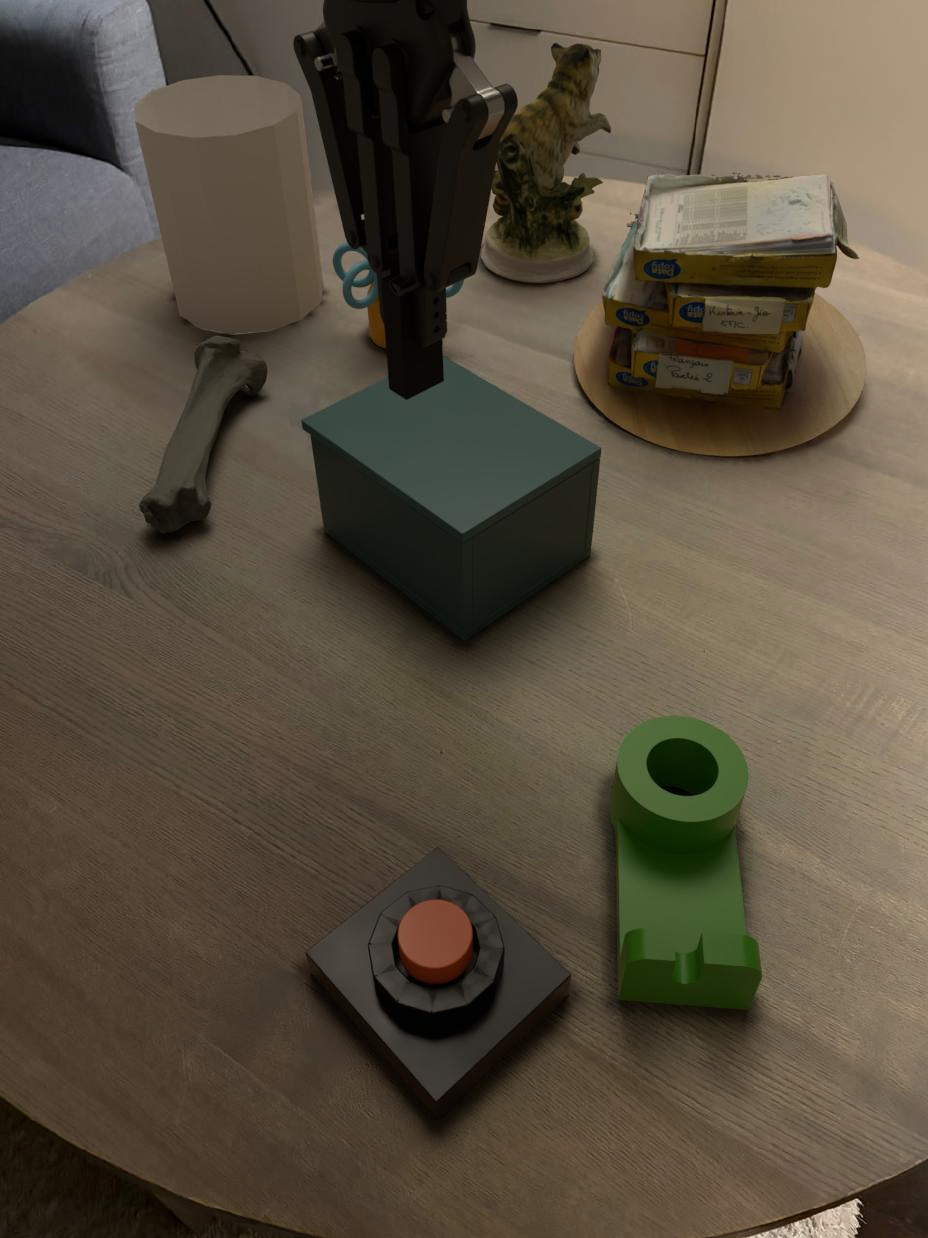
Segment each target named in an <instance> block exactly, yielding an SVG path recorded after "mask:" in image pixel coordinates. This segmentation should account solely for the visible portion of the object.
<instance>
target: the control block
mask: <svg viewBox="0 0 928 1238" xmlns="http://www.w3.org/2000/svg"><path fill="white" fill-rule="evenodd" d="M434 899H438V900H445V901H449V902H451V903H453V904H455V905H457V906H458V907H460V908H461V909H462V910H463V911H464V912H465V913H466V915H467V916H468V918H469V920H470V922H471V925H472V930H473V954H472V959H471V961H470V964H469V966H468V967H467V969H466V970H465V971H464V972H463V973H462V974H461V975H460V976H459V977H458V978H456V979H454V980H453V981H450V982H448V983H444V984H436V985H433V984H427V983H423V982H420V981H418V980H416V979H415V978H413V977H412V976H411V975H410V974H409V973H408V972H407V971H406V970H405V968H404V966H403V964H402V962H401V959H400V953H399V944H398V928H399V924H400V922H401V920H402V918H403V916H404V915H405V914H406V913H407V911H409V910H410V909H411V908H412V907H413V906H415V905H417V904H418V903H421V902H423V901H427V900H434ZM305 957H306V960H307V964H308V965H307V966H308V968H309V972H310V973H311V974H312V976H313V977H314V978H315V979H316V981H318V982H319V984H320V985H321V986H322V987H323V989H324V990H325V991H326V992H327V993H328V995H330V997H331V998H332V999H333V1000H334V1002H335V1003H336V1004H337V1005H338V1006H339V1007H340V1008H341V1010H343V1012H344V1013H345V1014H346V1015H347V1017H348V1018H349V1019H350V1020H351V1021H352V1023H354V1025H355V1026H356V1027H357V1028H358V1029H359V1030H360V1032H362V1034H363V1035H364V1036H365V1037H366V1038H367V1040H368V1041H369V1042H370V1043H371V1044H372V1046H373V1047H374V1048H375V1049H376V1050H377V1051H378V1052H379V1054H380V1055H381V1056H382V1057H383V1058H384V1059H385V1061H387V1063H388V1064H389V1065H390V1066H391V1068H393V1070H394V1071H395V1072H396V1073H397V1074H398V1076H399V1077H400V1078H401V1079H402V1080H403V1081H404V1083H405V1084H406V1085H407V1086H408V1087H409V1088H410V1090H411V1091H412V1092H413V1093H414V1094H415V1095H416V1096H417V1098H418V1099H419V1100H420V1101H421V1103H423V1105H424V1106H425V1107H426V1108H427V1110H429V1112H430V1113H431V1114H432V1115H433V1116H434V1118H436V1119H437V1120H439V1119H440V1118H441V1117H442V1116H443V1115H444V1114H445V1113H446V1112H447V1111H449V1109H450V1108H451V1107H453V1106H454V1105H455V1104H456V1103H457V1102H458V1101H459V1100H460V1099H461V1098H462V1097H463V1096H464V1095H465V1094H466V1093H467V1092H468V1091H469V1090H470V1089H471V1088H472V1087H474V1086H475V1085H476V1083H478V1081H480V1080H481V1079H482V1078H483V1077H484V1076H485V1075H486V1074H487V1073H488V1072H489V1071H491V1069H492V1068H493V1067H495V1065H497V1064H498V1063H499V1062H500V1061H501V1060H502V1059H503V1058H504V1057H505V1056H506V1055H507V1054H509V1052H510V1051H511V1050H512V1049H513V1048H514V1047H515V1046H516V1045H517V1044H519V1042H521V1041H522V1040H523V1039H524V1037H526V1036H527V1035H528V1034H530V1032H531V1031H532V1030H533V1029H534V1028H535V1027H536V1026H537V1025H538V1024H539V1023H540V1022H541V1021H542V1020H543V1019H544V1018H545V1017H547V1016H548V1015H549V1014H550V1013H551V1012H552V1011H553V1010H554V1009H555V1008H556V1007H557V1006H558V1005H559V1004H561V1002H563V1000H564V999H565V998H566V997H567V996H568V995H569V994H570V988H571V981H572V973H571V972H569V970H568V969H566V968H565V967H564V966H563V965H562V964H561V963H560V962H559V961H558V960H557V959H556V958H555V957H554V956H553V955H551V954H550V952H549V951H548V950H547V949H545V948H544V946H543V945H541V944H540V943H539V942H538V941H537V940H536V939H535V938H534V937H533V936H532V935H531V934H530V933H529V932H528V931H527V930H526V929H525V928H524V927H522V925H520V924H519V922H518V921H516V919H514V918H513V916H511V915H510V913H508V912H507V911H506V910H505V909H504V908H502V907H501V906H500V904H498V902H496V901H495V900H494V899H493V898H492V896H490V895H489V893H487V891H485V890H484V889H483V888H482V887H481V886H480V885H478V884H477V883H476V881H474V880H473V879H472V877H470V876H469V874H467V873H466V872H465V871H464V870H463V869H462V868H461V867H460V866H459V865H458V864H457V863H455V862H454V860H453V859H451V858H450V857H449V856H448V855H447V853H446V852H444V851H443V850H442V849H441V848H440V847H439V846H437V847H436V848H434V849H433V850H432V851H431V852H429V853H428V854H426V856H424V857H423V858H422V859H420V860H419V861H418V862H417V863H415V864H414V865H413V866H412V867H410V868H409V869H408V870H406V871H405V872H404V873H403V874H401V875H400V876H399V877H397V878H396V880H394V881H392V882H391V883H390V884H389V885H388V886H387V887H386V888H384V889H383V890H382V891H380V892H379V893H377V895H375V896H374V897H373V898H372V899H370V900H369V901H367V903H365V904H364V905H363V906H361V907H360V908H358V910H356V911H355V912H354V913H352V914H351V915H350V916H349V917H348V918H346V919H345V920H344V921H343V922H341V923H340V924H339V925H337V926H336V927H335V928H333V930H331V931H330V932H328V933H327V934H326V935H325V936H324V937H322V938H321V939H320V940H319V941H318V942H316V943H315V944H314V945H312V946H311V947H310V948H308V949H307V950H306V951H305Z"/></svg>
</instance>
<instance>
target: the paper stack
mask: <svg viewBox="0 0 928 1238" xmlns="http://www.w3.org/2000/svg"><path fill="white" fill-rule="evenodd" d="M657 173H661V174H652V175H650V176H647V177H646V181H645V188H644V191H643V194H642V198H641V199H642V200H641V203H640V207H639V211H638V213H634V214H632V212H629V215H634V219H635V220H633V221H630V223H629V222H627V223H626V227H627V228H630V229H629V230H628V232H627V236H626V238H625V240H624V242H623V243H622V245H621V247H620V249H619V250H618V253H617V254H616V256H615V259H614V260H613V263H612V265H611V266H610V270H609V273H608V275H607V279H606V281H605V283H604V287H603V290H602V292H601V293H602V294H601V299H602V300H601V301H600V302H599V303H598V304H597V305H596V306H595V307H594V308H592V310H591V311H590V312H589V314H588V315H587V316H586V317H585V319H584V320H583V322H582V324H581V326H580V328H579V331H578V333H577V335H576V339H575V343H574V348H573V363H574V370H575V373H576V377H577V380H578V381H579V384H580V386H581V388H582V390H583V391H584V393H585V395H586V396H587V397H588V399H589V400H590V402H591V403H592V404H593V405H594V406H595V407H596V409H597V410H599V411H600V412H601V413H602V414H603V415H604V416H606V418H608V419H609V420H610V421H611V422H613V423H614V424H616V425H617V426H619V427H620V428H622V429H624V430H625V431H627V432H629V433H631V434H633V435H634V436H637V437H639V438H641V439H643V440H645V441H647V442H650V443H653V444H655V445H658V446H661V447H665V448H668V449H672V450H676V451H679V452H685V453H688V454H689V453H690V454H695V455H696V454H697V455H704V456H717V457H742V456H743V457H747V456H755V455H763V454H764V455H765V454H768V453H769V454H770V453H775V452H779V451H783V450H786V449H790V448H792V447H795V446H799V445H801V444H804V443H806V442H808V441H810V440H813V439H815V438H817V437H818V436H820V435H822V434H824V433H826V432H827V431H829V430H831V429H833V427H835V426H836V425H838V424H839V422H841V421H842V420H843V419H844V418H845V417H846V416H847V415H848V414H849V413H850V411H851V410H852V409H853V408H854V406H855V405H856V403H857V402H858V400H859V398H860V397H861V395H862V392H863V389H864V386H865V384H866V379H867V378H866V377H867V358H866V352H865V349H864V346H863V343H862V340H861V338H860V337H859V334H858V332H857V331H856V330H855V328H854V326H853V325H852V323H851V322H850V321H849V320H848V319H847V318H846V317H845V315H844V314H843V313H842V312H841V311H840V310H839V309H837V307H835V305H833V304H831V303H830V302H829V301H827V300H826V299H825V298H823V297H822V296H821V295H819V294H818V293H816V289H817V288H821V289H827V288H829V287H830V285H831V283H832V280H833V277H834V271H835V270H836V269H835V268H836V264H837V261H838V249H839V250H840V252H841V253H842V254H843V255H845V256H846V257H848V258H850V259H853V260H859V259H860V256H859V254H858V253H857V252H856V251H855V250H854V249H853V248H852V247H851V246H850V245H849V240H848V223H847V220H846V217H845V215H844V212H843V208H842V205H841V202H840V199H839V197H838V194H837V193H836V189H835V185H834V182H833V181H832V180H830V178H829V176H828V175H827V174H822V173H820V174H812V175H801V176H799V175H798V176H783V177H782V176H781V175H777V174H776V175H774V174H773V175H772V177H773V178H771V175H770V174H766V175H764V177H765V178H768V179H767V180H766V179H765V180H760V179H764V177H763V176H762V175H761V174H755V175H754V176H752V175H751V174H747V175H745V176H743V175H741V172H738V173H737V172H735V171H733V172H732V175H724V176H723V175H720V176H717V175H715V174H711V175H705V174H691V175H689V174H688V175H687V174H682V175H675V174H670V173H667V174H664V171H661V172H660V170H658V171H657ZM736 174H737V175H736ZM735 175H736V178H735ZM714 177H715V178H714ZM769 178H770V179H769ZM755 179H756V180H755ZM749 180H751V181H749Z"/></svg>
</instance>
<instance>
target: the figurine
mask: <svg viewBox="0 0 928 1238" xmlns="http://www.w3.org/2000/svg"><path fill="white" fill-rule="evenodd" d="M550 52H551V56H552V59H553V61H554V62H555V67H554V69H553V71H552V76H551V79H550V80H549V81H548V82H547V85H546V88H544V89H543V90H542V91H540V93H539V94H538V95H537V96H536V98H535V99H534V100H533V101H531V102H529V103H527V104H526V105H524V106H522V107H521V108H520V109H519V110H518V111H516V112H515V114H514V115H513V117H512V119H511V121H510V123H509V124H508V126H507V128H506V130H505V132H504V134H503V135H502V137H501V140H500V145H499V151H498V156H497V162H496V166H497V170H496V169H495V173H494V178H493V184H492V189H491V193H492V195H495V196H494V199H493V203H492V208H493V211H494V213H495V214H496V215H497V216H499V218H497V220H496V221H494V222H493V223H492V224H491V225H490V226H489V227H488V228H487V230H486V232H485V234H484V235H485V236H484V239H485V243H484V245H483V246H482V247H481V250H480V259H481V261H482V263H483V265H484V266H485V267H486V268H487V269H488V270H490V271H491V272H492V273H493V274H496V275H498V276H500V277H502V278H505V279H508V280H513V281H515V282H521V283H527V284H549V283H554V282H555V283H556V282H560V281H565V280H569V279H572V278H575V277H578V276H580V275H582V274H583V273H584V272H586V271H587V270H588V269H589V268H590V267H591V266H592V264H593V261H594V252H593V250H592V248H591V246H590V241H591V240H590V239H591V238H590V235H589V232H588V231H587V229H586V228H585V227H584V226H582V224H580V222H578V221H577V219H579V218H580V217H581V215H582V213H583V211H584V209H583V207H584V206H583V201H582V199H584V198H585V197H588V196H590V195H593V194H595V193H596V191H595V189H594V188H595V187H598V186H600V185H601V184H603V183H604V181H603V180H601V179H599V178H598V177H594V176H590V177H589V176H586V174H585V172H582V173H580V174H579V176H578V177H574V178H573V180H572V181H571V183H570V184H569V183H567V182H566V181H563V180H564V177H565V168H564V166H565V164H566V162H567V161H568V159H569V158H570V156H571V154H572V155H574V156H576V155H578V154H579V153H581V147H580V144H579V142H581V141H582V140H584V139H585V138H586V137H589V136H590V135H592V134H594V133H597V132H598V131H600V130H602V131H604V132H606V133H608V134H612V126H611V123H610V122H609V120H608V118H607V116H606V114H603V113H601V112H598V113H597V112H596V113H593V114H591V111H590V107H591V98H592V96H593V94H594V92H595V88H596V84H597V82H598V78H599V74H600V67H599V66H600V64H601V62H602V49H599V48H593V47H592V46H591V45H589V44H583V43H574V44H571V45H570V46H567V47H564V46H563V45H561V44H559V43H558V42H554V43H552V44H551V47H550Z"/></svg>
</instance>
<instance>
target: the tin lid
mask: <svg viewBox="0 0 928 1238" xmlns="http://www.w3.org/2000/svg"><path fill="white" fill-rule="evenodd" d="M443 370H444V381H443V382H441V383H439V384H437V385H435V386H433V387H431V388H429V389H427V390H426V391H424V392H422V393H420V394H418V395H416V396H414V397H412V398H410V399H408V400H406V399H404V398H402V397H401V396H399V395H398V394H396V393H395V392H393V391H392V390H390V389H389V379H388V376H386V377H384V378H383V379H380V380H378V381H377V382H375V383H373V384H371V385H368V386H366V387H365V388H362V389H360V390H359V391H357V392H354V393H353V394H350V395H348V396H347V397H345V398H343V399H341V400H339V401H337V402H335V403H331V405H329V406H326V407H324V408H323V409H321V410H319V411H316V412H315V413H312V414H311V415H309V416H306V417H305V418H302V419H301V427H302V430H303V431H304V432H306V433H307V434H308V435H311V436H313V437H314V438H316V439H317V440H318V441H320V442H321V443H323V444H324V445H325V446H327V447H328V448H330V449H331V450H332V451H334V452H335V453H337V454H338V455H339V456H341V457H342V458H344V459H345V460H346V461H348V462H349V463H351V464H352V465H353V466H355V467H356V468H358V469H359V470H361V471H362V472H363V473H365V474H366V475H368V476H369V477H370V478H372V479H373V480H375V481H376V482H377V483H379V484H380V485H382V486H383V487H384V488H386V489H387V490H389V491H390V492H391V493H393V494H394V495H396V496H397V497H398V498H400V499H401V500H403V501H404V502H405V503H407V504H408V505H410V506H411V507H412V508H414V509H415V510H417V511H418V512H419V513H421V514H422V515H424V516H425V517H426V518H428V519H429V520H431V521H432V522H433V523H435V524H436V525H438V526H439V527H440V528H442V529H443V530H445V531H446V532H447V533H449V534H450V535H452V536H453V537H454V538H456V539H457V540H459V541H460V542H461V543H464V542H466V541H467V540H469V539H470V538H472V537H474V536H475V535H477V534H478V533H480V532H482V531H483V530H485V529H486V528H488V527H490V526H491V525H493V524H494V523H496V522H498V521H499V520H501V519H502V518H504V517H506V516H507V515H509V514H511V513H512V512H514V511H515V510H517V509H519V508H520V507H522V506H523V505H525V504H527V503H528V502H530V501H531V500H533V499H535V498H536V497H538V496H539V495H541V494H543V493H544V492H546V491H547V490H549V489H551V488H552V487H554V486H555V485H557V484H559V483H560V482H562V481H563V480H565V479H567V478H568V477H570V476H572V475H573V474H575V473H576V472H578V471H580V470H581V469H583V468H584V467H586V466H588V465H589V464H591V463H592V462H594V461H596V460H597V459H599V458H600V459H601V457H602V447H601V446H599V445H597V444H596V443H595V442H592V441H591V440H589V439H587V438H585V437H584V436H582V435H580V434H578V433H577V432H575V431H573V430H571V429H570V428H569V427H566V426H565V425H563V424H562V423H560V422H558V421H556V420H555V419H553V418H551V417H549V416H548V415H545V414H544V413H543V412H541V411H540V410H537V409H536V408H534V407H532V406H531V405H529V404H527V403H526V402H523V401H522V400H520V399H519V398H516V397H515V396H513V395H511V394H510V393H508V392H507V391H505V390H503V389H501V388H499V387H498V386H496V385H494V384H493V383H491V382H489V381H488V380H486V379H485V378H483V377H480V376H479V375H478V374H475V373H474V372H472V371H470V370H469V369H467V368H465V367H464V366H462V365H460V364H458V363H456V362H455V361H454V360H452V359H450V358H448V357H447V356H445V355H443ZM311 436H310V437H311Z"/></svg>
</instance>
